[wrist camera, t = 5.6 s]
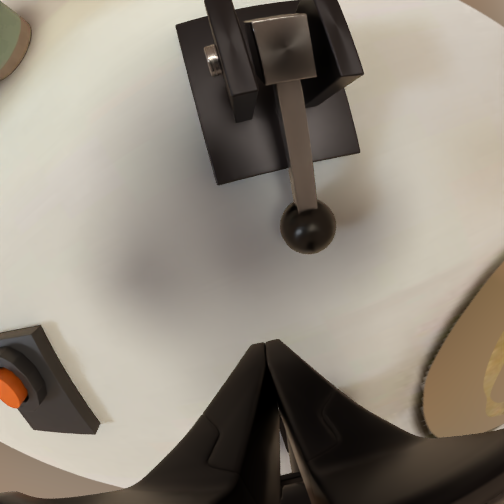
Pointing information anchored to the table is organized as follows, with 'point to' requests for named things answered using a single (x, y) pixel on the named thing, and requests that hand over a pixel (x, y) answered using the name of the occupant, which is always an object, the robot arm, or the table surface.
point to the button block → (45, 384)
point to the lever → (293, 122)
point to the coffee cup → (12, 40)
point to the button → (11, 389)
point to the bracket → (266, 87)
